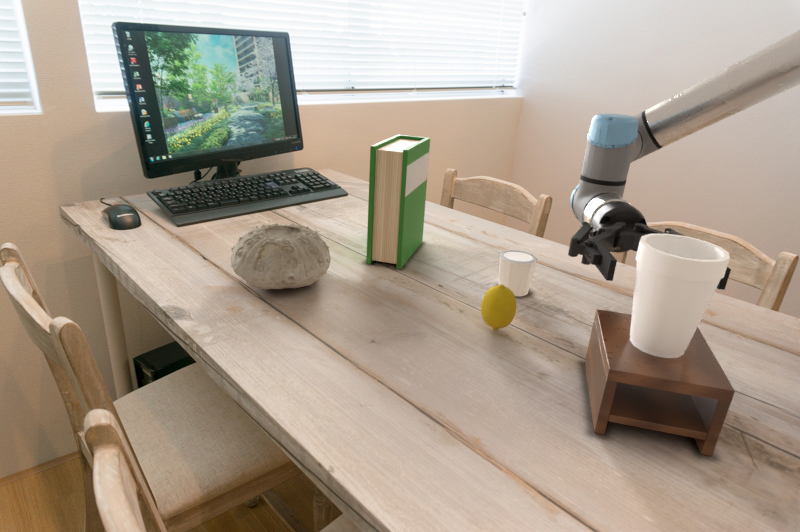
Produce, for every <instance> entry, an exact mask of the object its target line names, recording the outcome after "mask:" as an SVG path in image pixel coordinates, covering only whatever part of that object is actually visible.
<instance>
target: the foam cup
mask: <svg viewBox="0 0 800 532" xmlns="http://www.w3.org/2000/svg"><path fill="white" fill-rule="evenodd" d="M682 235H683V234H682ZM682 235H674V234H648V235H644V236H641V239H640V242H639V246H638V250H637V251H636V254H635V261H636V267H635V276H634V288H633V297H632V298H633V299H632V309H631V315H632V318H631V328H630V341H631V343H632V344H633V346H635V347H636V348H638V349H640V350H641V351H643V352H645V353H648V354H651V355H653V356H658V357H663V358H678V357H680V356H682V355H684V352H685V350H686V349H687V347H688V345H689V343H690V341H691V339H692V337H693V335H694V333H695V331H696V329H697V327H698V328H699V324H700V323H701V321H702V318H703V316H704V315H705V313H706V310H707V308H708V307H709V305H710V302H711V301H712V298H713V296H714V294H715V292H716V290H717V289H718V288H717V286H718V284H719V282H720V280H721V279H722V278H724V275H725V272H726V269H727V267H729V266H728V265H729V263H730V260H731V259H730V258H731V257H730V252H728V251H727V250H726V249H724V248H723V247H721V246H720V245H716V244H714V243H712V242H709V241H707V240H704V239H699V238H695V237H691V236H688V237H687V235H685V236H682Z"/></svg>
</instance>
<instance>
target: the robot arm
mask: <svg viewBox="0 0 800 532" xmlns="http://www.w3.org/2000/svg"><path fill="white" fill-rule="evenodd" d="M798 85H800V29H798V30H796V31H794V32H793V33H790V34H789V35H787V36H785V37H783V38H781V39H779V40H777V41H776V42H773V43H772V44H769V45H768V46H766V47H764V48H762V49H760V50H758V51H756V52H754V53H753V54H750V55H749V56H747V57H745V58H743V59H741V60H739V61H737V62H735V63H734V64H731V65H729V66H728V67H725V68H723V69H721V70H719V71H718V72H716V73H714V74H712V75H710V76H708V77H706V78H703V80H700V81H699V82H697V83H694V84H693V85H691V86H689V87H687V88H685V89H684V90H681V91H679V92H678V93H675V94H674V95H672V96H670V97H668V98H666V99H664V100H662V101H660V102H658V103H657V104H655V105H652V106H651V107H649V108H647V109H645V110H643V111H642V112H639V113H637V114H635V115H633V116H632V115H628V114H627V115H626V114H619V113H597V114H594V116H593V117H592V118H591V122H590V125H589V130H588V132H587V134H586V139H587V140H586V145H585V150H584V157H583V162H582V167H581V173H580V177H579V181H578V184H577V185H576V186H575V187H574V189H573V190H572V191H571V193H570V196H569V205H570V208H571V211H572V213H573V215H574V217H575V218H576V220H578V222H580V224H579V225H580V226H579V229H577V231H575V233H574V235H572V237H571V238H570V242H569V247H568V253H567V255H568V257H571V258H576V257H578V256H579V255H581V256H582V257H581V264H582V265H587V266H589V265H593V266H595V267H596V269H597V270H598V271H599V273H600V274H601V275H602V277H603V278H604V280H605V281H608V282H609V281H610V282H612V281H613V280H614V276H615V272H616V268H617V263H618V260H617V259H616V257H615V256H614V255H613V253H615V254H619V253H626V252H629V251H633V252H637V250H638V246H639V242H640V239H641V236H644V235H648V234H674V235H682V236H687V235H685V234H683V233H680V232H678V231H676V230H675V229H672V228H670V227H666V228H664V231H662V230H659V229H655V228H652V227H649V226H648V224H647V221H646V217H645V216H644V214H643V213H642V212H641V211H640V210H639V209H638V208H636V207H635V206H634V205H632V203H631V202H629V201H627V200H626V199H624V198H623V197H624V192H625V188H626V183H627V179H628V174H629V170H630V166H631V163H634V162H635V161H638V160H640V159H642V158H644V157H646V156H648V155H650V154H652V153H654V152H657V151H658V150H659V151H660V150H661V149H662V148H665V147H667V146H669V145H671V144H673V143H675V142H678V141H679V140H682V139H684V138H686V137H688V136H690V135H693V134H695V133H697V132H699V131H701V130H703V129H706V128H708V127H710V126H712V125H715V124H716V123H719V122H721V121H723V120H725V119H728V118H729V117H731V116H734V115H736V114H738V113H741V112H742V111H745V110H747V109H749V108H752V107H753V106H755V105H758V104H760V103H762V102H765V101H766V100H769V99H771V98H773V97H776V96H777V95H779V94H781V93H784V92H786V91H788V90H790V89H792V88H795V87H797V86H798ZM687 237H689V236H687ZM731 272H732V269H731V268H730V267H729V266H727V269H726V272H725V275H724V278H722V279H721V280H720V282H719V284H718V286H717V288H716V289H718V290H722V291H724V290H726V288H727V287H726V286H727V284H728V281H729V277H730V275H731Z"/></svg>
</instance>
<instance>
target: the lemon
mask: <svg viewBox="0 0 800 532" xmlns="http://www.w3.org/2000/svg"><path fill="white" fill-rule="evenodd" d="M516 298H517V297H516V296H515V295H514V293H513V292H512V291H511V290H510V289H509V288H507V287H505V286H504V285H503V284H500V285H498V284H497V285H494V286H492V287H490V288H488V289H487V291H485V293H484V294H483V298H482V300H481V304H480V313H481V317H482V320H483V322H485V324H487V325H488V326H489V327H491V328H492V329H493V330H495V331H497V330H499V329H503V328H506V327H508V326H509V325H510V324H512V322H513V320H514V319H515V316H516V313H517V299H516Z"/></svg>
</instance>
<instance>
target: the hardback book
mask: <svg viewBox="0 0 800 532" xmlns="http://www.w3.org/2000/svg"><path fill="white" fill-rule="evenodd" d="M430 146H431V137H425V136H418V135H408V134H406V135H405V134H395V135H392V136H391V137H388V138H386V139H383V140H381V141H379V142H377V143H374V144H372V145H370V146H369V147H370V148H369V150H370V151H369V174H368V175H369V176H368V203H367V205H368V207H367V210H368V211H367V235H366V261H365V264H368V265H371V264H372V263H374V261H376V262H382V263H388V264H394V265H396V267H395V269H397V270H401V269H402V268H403V267H404V266H405V264H406V263H407V262H408V261H409V260H410V258H411V257H412V256H413V255H414V253H415V252H416V251H417V250H418V248H420V246H421V245H422V243H423V239H424V228H425V227H424V225H425V213H426V212H425V211H426V200H427V199H426V198H427V185H428V176H429V175H428V173H429V160H430V150H431V149H430V148H431V147H430Z"/></svg>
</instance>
